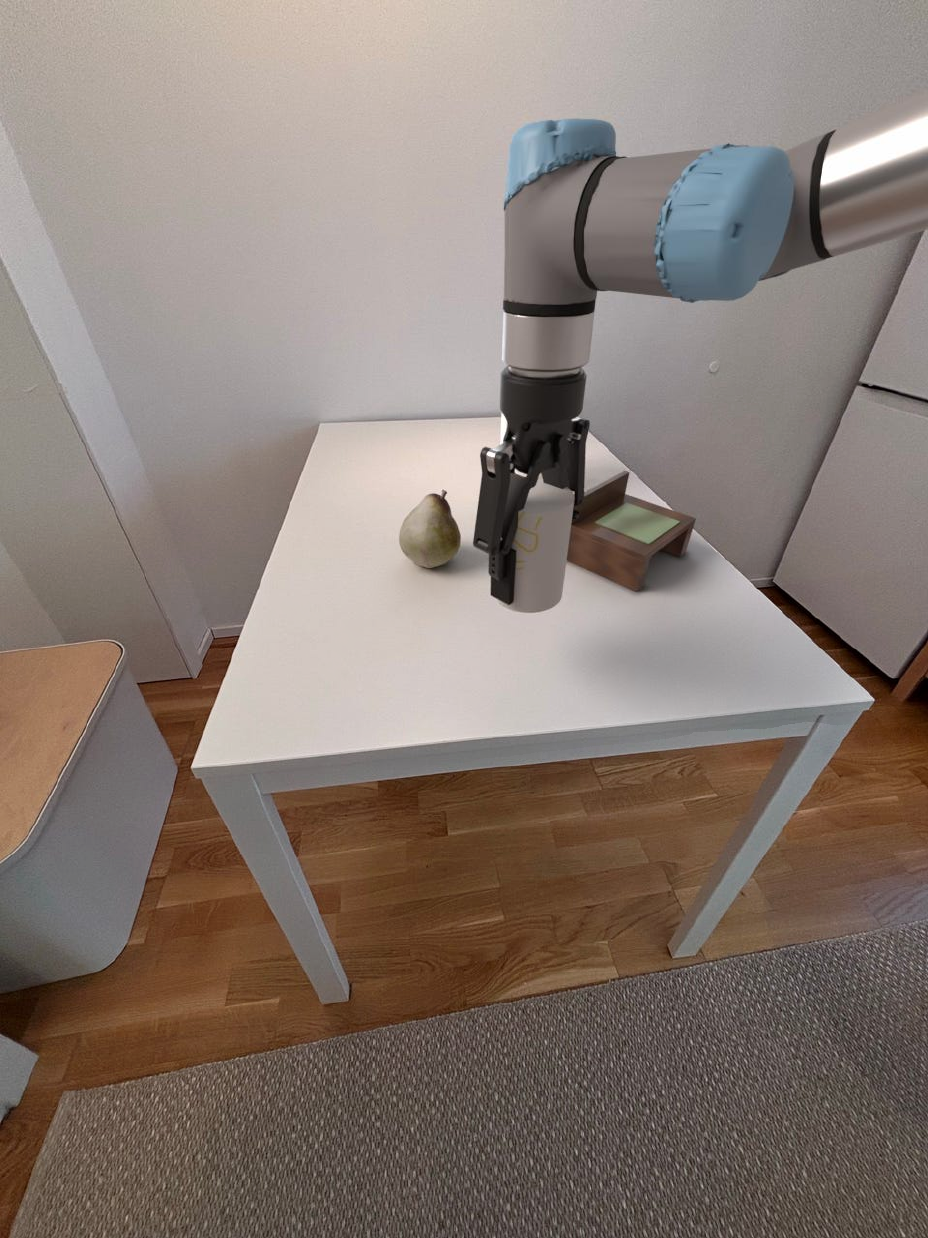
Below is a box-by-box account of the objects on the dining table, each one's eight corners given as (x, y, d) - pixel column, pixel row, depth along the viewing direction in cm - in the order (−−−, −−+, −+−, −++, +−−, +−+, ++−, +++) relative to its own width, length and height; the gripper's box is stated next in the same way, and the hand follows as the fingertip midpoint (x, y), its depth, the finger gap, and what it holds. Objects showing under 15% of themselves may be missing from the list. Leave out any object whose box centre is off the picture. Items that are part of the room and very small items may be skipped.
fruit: (472, 560, 86) (472, 493, 78) (432, 584, 80) (428, 514, 73) (428, 539, 91) (425, 475, 84) (388, 561, 86) (381, 493, 78)
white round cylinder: (479, 583, 61) (479, 488, 54) (535, 565, 64) (543, 473, 57) (516, 621, 56) (522, 520, 48) (576, 599, 59) (591, 501, 51)
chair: (685, 552, 87) (703, 495, 81) (636, 592, 79) (651, 531, 72) (613, 525, 95) (624, 470, 88) (561, 558, 86) (569, 499, 80)
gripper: (578, 343, 53) (556, 538, 67) (425, 382, 41) (438, 608, 55) (644, 353, 49) (606, 559, 63) (495, 400, 37) (489, 640, 51)
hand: (527, 582), depth 59 cm, fingers closed on white round cylinder, 8 cm apart
